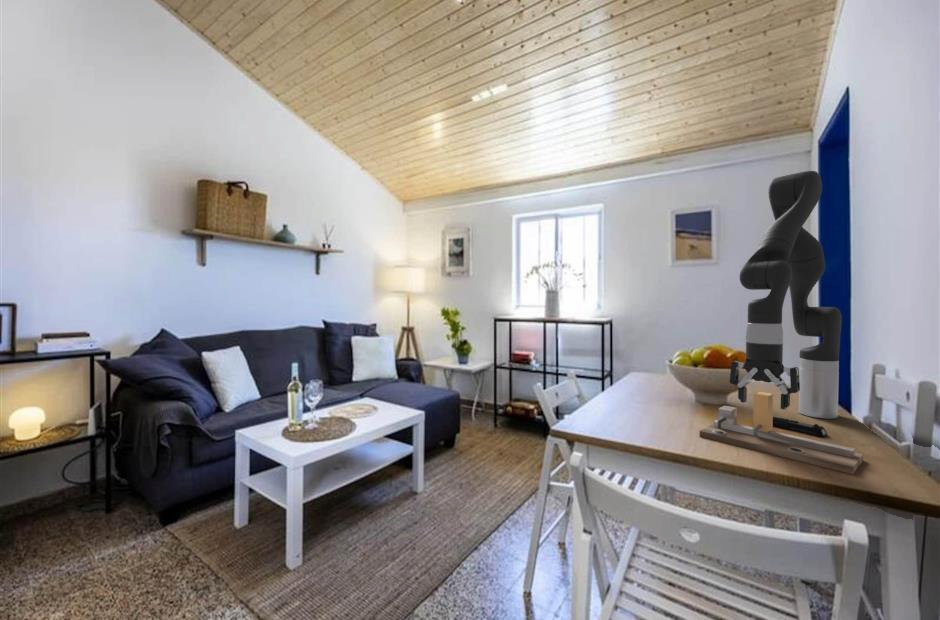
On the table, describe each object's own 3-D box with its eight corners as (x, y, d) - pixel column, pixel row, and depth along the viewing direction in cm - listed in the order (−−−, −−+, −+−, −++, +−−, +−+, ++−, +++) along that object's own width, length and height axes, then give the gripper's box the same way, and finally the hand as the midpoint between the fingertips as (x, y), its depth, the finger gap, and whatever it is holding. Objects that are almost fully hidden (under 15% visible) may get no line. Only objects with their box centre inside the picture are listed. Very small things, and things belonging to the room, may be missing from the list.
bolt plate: (716, 427, 115) (716, 402, 115) (862, 460, 92) (863, 429, 91) (699, 436, 108) (699, 410, 108) (853, 474, 85) (854, 440, 84)
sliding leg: (758, 428, 106) (759, 391, 105) (772, 431, 103) (773, 393, 103) (747, 434, 101) (748, 396, 100) (762, 438, 98) (762, 398, 98)
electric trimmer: (762, 422, 121) (762, 412, 121) (828, 436, 108) (828, 424, 108) (756, 425, 119) (756, 414, 119) (823, 439, 106) (823, 427, 106)
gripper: (803, 342, 99) (802, 408, 100) (737, 338, 110) (736, 397, 111) (795, 344, 95) (793, 414, 95) (726, 339, 106) (725, 402, 106)
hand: (762, 405), depth 103 cm, fingers open, 8 cm apart
